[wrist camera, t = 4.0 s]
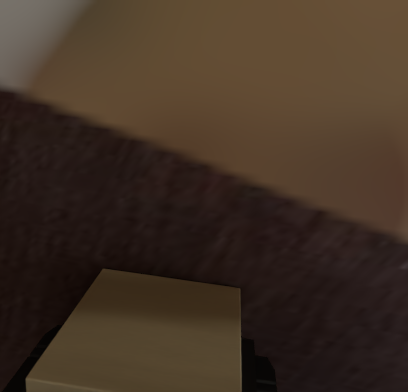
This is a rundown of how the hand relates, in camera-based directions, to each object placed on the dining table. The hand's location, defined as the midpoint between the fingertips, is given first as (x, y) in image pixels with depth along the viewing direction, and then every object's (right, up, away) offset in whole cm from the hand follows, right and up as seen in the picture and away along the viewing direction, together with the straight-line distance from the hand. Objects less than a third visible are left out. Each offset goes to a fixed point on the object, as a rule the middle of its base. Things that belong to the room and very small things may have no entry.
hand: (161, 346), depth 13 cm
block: (0, 0, +1) cm, 1 cm away
